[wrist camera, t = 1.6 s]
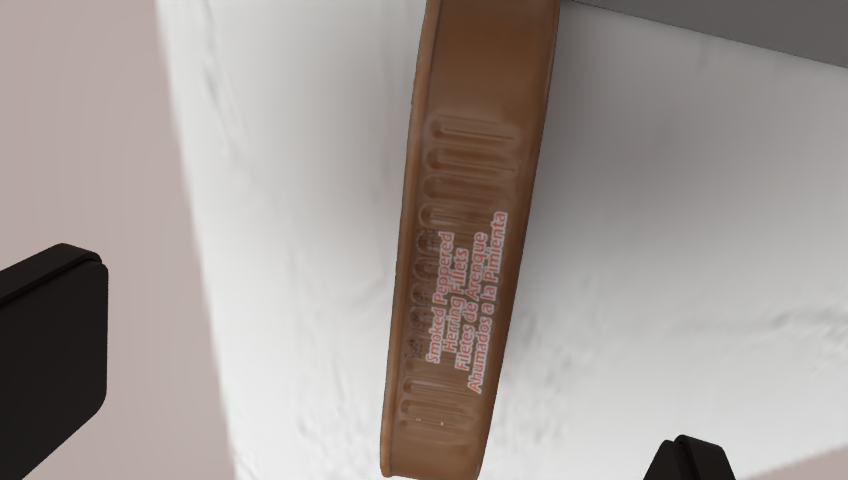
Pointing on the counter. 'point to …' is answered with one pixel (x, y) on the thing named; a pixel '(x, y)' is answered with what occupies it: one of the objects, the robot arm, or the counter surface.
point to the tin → (463, 227)
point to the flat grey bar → (755, 22)
